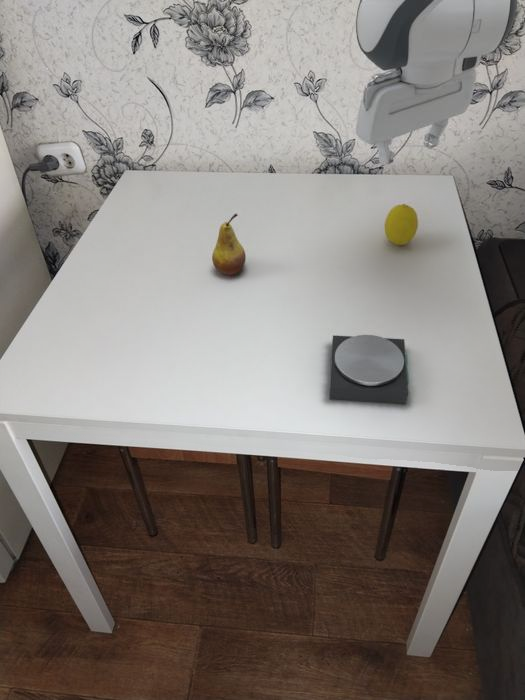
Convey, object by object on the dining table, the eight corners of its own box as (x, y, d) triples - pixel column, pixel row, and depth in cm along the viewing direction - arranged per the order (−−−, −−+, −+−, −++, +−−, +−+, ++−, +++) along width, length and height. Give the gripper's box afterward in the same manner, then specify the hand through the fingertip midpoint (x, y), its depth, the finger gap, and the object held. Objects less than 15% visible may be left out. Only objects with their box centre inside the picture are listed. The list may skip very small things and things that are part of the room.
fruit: (244, 258, 102) (239, 196, 94) (248, 278, 98) (244, 215, 90) (212, 262, 102) (205, 200, 94) (215, 282, 98) (208, 219, 90)
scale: (404, 352, 85) (406, 339, 83) (407, 405, 78) (410, 392, 76) (331, 348, 86) (332, 335, 84) (329, 400, 79) (330, 387, 77)
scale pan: (401, 339, 82) (402, 336, 82) (405, 388, 76) (405, 385, 76) (335, 336, 83) (335, 332, 83) (333, 383, 77) (333, 380, 77)
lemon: (412, 236, 106) (419, 196, 100) (415, 254, 102) (422, 213, 96) (381, 235, 106) (386, 195, 100) (383, 253, 102) (388, 213, 97)
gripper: (381, 84, 76) (371, 182, 86) (490, 51, 84) (469, 144, 94) (350, 70, 80) (343, 165, 90) (457, 40, 88) (439, 130, 98)
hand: (408, 154), depth 92 cm, fingers open, 8 cm apart
